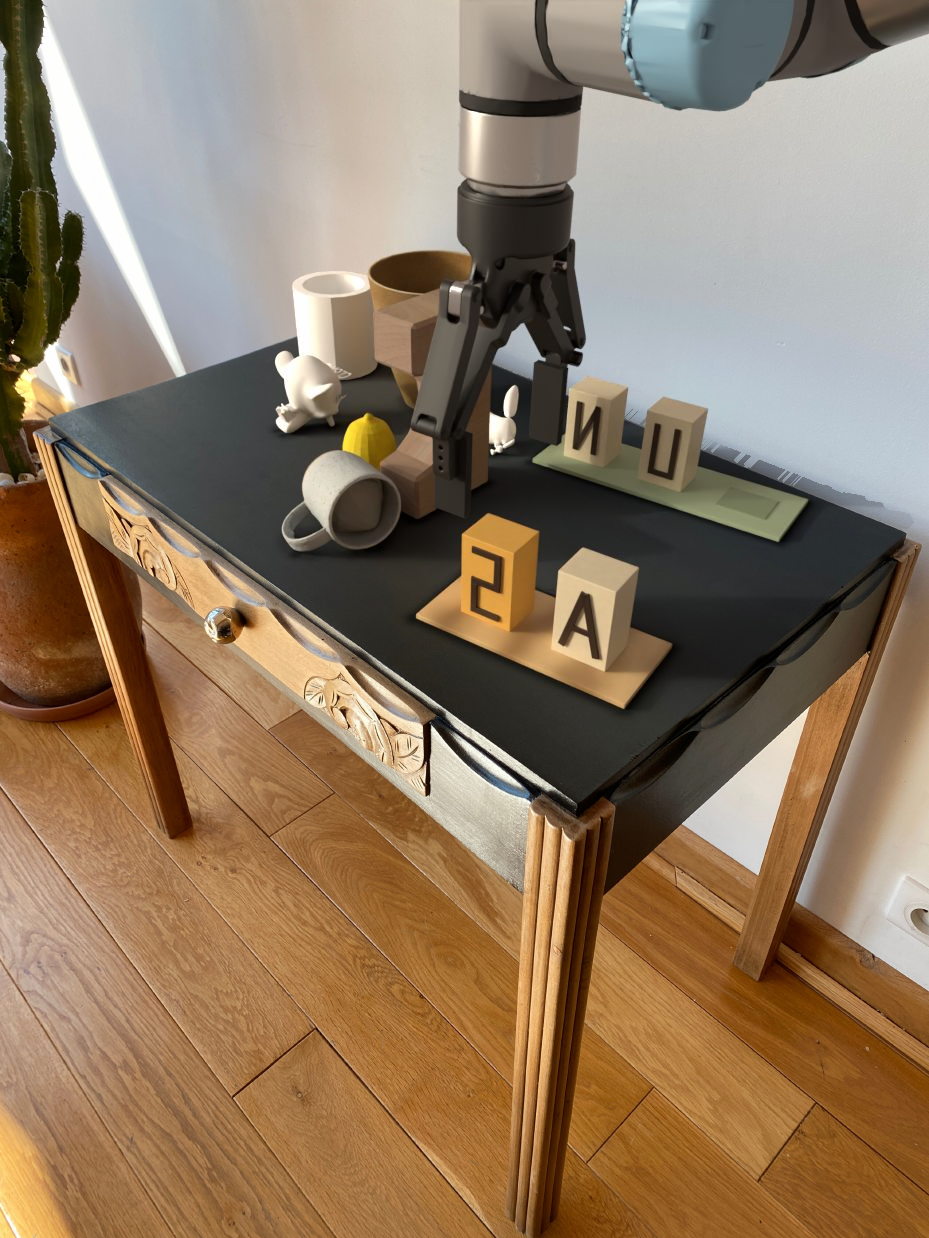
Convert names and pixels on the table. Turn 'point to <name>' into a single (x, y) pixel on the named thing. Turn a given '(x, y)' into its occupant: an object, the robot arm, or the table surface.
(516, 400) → the rabbit figurine
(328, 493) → the ceramic mug
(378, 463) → the fruit
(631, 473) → the board
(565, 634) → the tile
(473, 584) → the orange block
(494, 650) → the front word board
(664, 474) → the U tile
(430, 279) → the plant pot
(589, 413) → the wooden letter block
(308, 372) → the figurine
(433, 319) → the decorative block
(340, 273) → the mug
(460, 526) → the table surface
